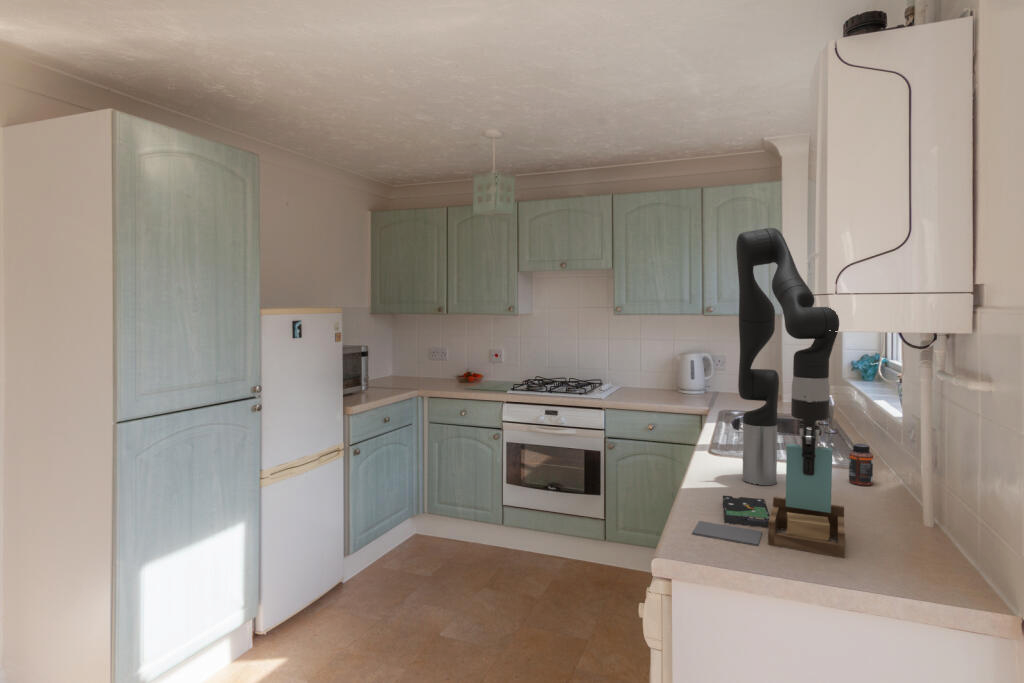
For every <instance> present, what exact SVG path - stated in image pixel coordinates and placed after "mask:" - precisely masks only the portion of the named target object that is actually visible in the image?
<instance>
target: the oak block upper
mask: <svg viewBox="0 0 1024 683" xmlns="http://www.w3.org/2000/svg"><path fill="white" fill-rule="evenodd" d="M786 531H787V532H788V534H794V535H802V536H810V537H817V538H825V539H828V540H830V538H831V537H830V524H829V521H828V517H822V516H814V515H805V514H797V513H789V512H787V530H786Z"/></svg>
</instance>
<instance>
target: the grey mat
mask: <svg viewBox="0 0 1024 683" xmlns="http://www.w3.org/2000/svg"><path fill="white" fill-rule="evenodd" d="M762 534H763V530H757V529H749V528H744V527H739V526H731V525H726V524H721V523H714V522H709V521H703V520H698V522H697V523H696V525H695V527H694V529H693V530H692V532H691V535H696V536H699V537H700V536H701V537H706V538H712V539H717V540H723V541H729V542H734V543H739V544H746V545H750V546H751V545H752V546H755V547H756V546H757V547H758V546H759V544H760V541H761V538H762Z"/></svg>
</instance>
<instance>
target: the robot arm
mask: <svg viewBox="0 0 1024 683" xmlns="http://www.w3.org/2000/svg"><path fill="white" fill-rule="evenodd" d="M735 246H736V248H735V250H736V263H737V273H738V274H737V275H738V293H739V294H738V295H739V296H738V297H739V299H738V300H739V301H738V302H739V303H738V331H739V332H738V333H739V337H738V338H739V364H738V365H739V367H738V380H737V381H738V384H737V385H738V386H737V387H738V394H739V397H740V399H742V400H745V401H756V402H757V401H760V402H765V404H763V405H762V406H760V407H758V408H756V409H752V410H748V411H746V412H744V413H743V418H742V424H743V427H742V430H743V432H742V481H744V482H745V481H746V482H745V483H747V482H749V483H748V484H751V483H753V484H752V485H756V484H759V485H758V486H772V485H773V486H774V485H775V483H776V484H777V474H778V473H777V468H778V466H777V465H778V464H777V462H778V459H777V458H778V403H779V401H778V400H779V390H780V377H779V373H778V371H777V370H775V369H768V368H765V369H764V368H763V369H762V368H760V369H759V368H752V365H753V363H754V361H755V359H756V357H758V355H759V353H760V352H761V351H762V350H763V348H764V347H765V346H766V345H767V344H768V342H769V341H770V340H771V338H772V337H773V335H774V333H775V329H776V328H775V327H776V325H775V324H776V323H775V322H776V317H775V316H776V310H775V306H774V303H773V302H772V301H771V299H770V298H769V297H768V296H767V294H766V293H765V292H764V291H763V289H762V288H761V287H760V285H759V284H758V282H757V281H756V278H755V272H754V267H757V266H763V265H768V264H769V265H770V264H773V263H774V264H776V265H777V268H776V270H775V272H774V275H773V277H772V282H771V289H772V293H773V295H774V297H775V298H776V300H777V302H778V303H779V305H780V307H781V309H782V313H783V318H784V326H785V331H786V332H787V334H788V335H789V336H791V338H794V339H796V340H814V341H812V344H811V346H809V347H807V348H804V349H800V350H797V351H795V352H794V354H793V366H792V367H793V368H792V371H793V372H792V382H791V402H790V403H791V404H790V407H791V409H790V410H791V413H790V414H791V416H792V417H793V418H794V419H796V420H802V422H803V423H802V424H799V429H798V430H799V435H800V440H799V441H800V444H799V445H800V446H801V447H802V457H803V474H804V475H810V476H813V475H814V460H815V458H816V455H815V449H817V448H818V447H819V436H820V432H821V430H820V429H821V428H820V427H821V426H820V425H817V421H826V420H828V419H829V418H830V398H831V397H830V395H831V394H830V392H831V391H830V390H831V388H830V387H831V386H830V380H829V378H830V377H829V376H830V375H829V374H830V358H831V354H832V351H833V348H834V344H835V341H836V339H837V336H838V334H839V333H838V332H839V328H840V318H839V315H838V313H837V311H834V309H833V308H832V307H830V308H829V306H814V304H815V296H814V294H813V293H812V291H811V289H810V288H809V286H808V285H807V284H806V282H805V281H804V279H803V278H802V276H801V274H800V273H799V271H798V269H797V266H796V263H795V262H794V258H793V256H792V253H791V250H790V248H789V246H788V243H787V242H786V240H785V237H784V236H783V234H782V232H781V231H780V230H779V229H777V228H774V227H768V228H767V227H766V228H762V229H755V230H750V231H749V230H748V231H745V232H740V233H739V235H738V237H737V239H736V244H735ZM831 308H832V309H833V310H832V309H831ZM836 313H837V314H836ZM829 330H831V331H829ZM835 331H838V332H835ZM805 450H810V451H812V453H811V452H805Z"/></svg>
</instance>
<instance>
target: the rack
mask: <svg viewBox="0 0 1024 683" xmlns="http://www.w3.org/2000/svg"><path fill="white" fill-rule="evenodd" d="M772 501H773V502H772V509H771V511H770V514H769V515H770V518H769V522H768V528H767V533H768V534H767V535H768V536H767V544H768V545H769V546H770V545H771V546H775V547H781V548H787V549H793V550H799V551H804V552H810V553H816V554H821V555H826V556H833V557H838V558H845V543H846V542H845V540H846V539H845V537H846V533H845V532H846V530H845V506H844V505H837V504H831V513H827V512H820V511H813V510H806V509H800V508H793V507H786V497H779V496H773V497H772ZM787 512H789V513H797V514H805V515H814V516H822V517H828V521H829V524H830V538H831V537H832V538H836V539H837V540H836V542H833V541H829V540H828V541H822V540H816V539H810V538H804V537H798V536H792V535H786V533H785V534H784V533H779V529H780V528H783V529H782V530H786V529H787ZM777 531H778V532H777Z"/></svg>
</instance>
